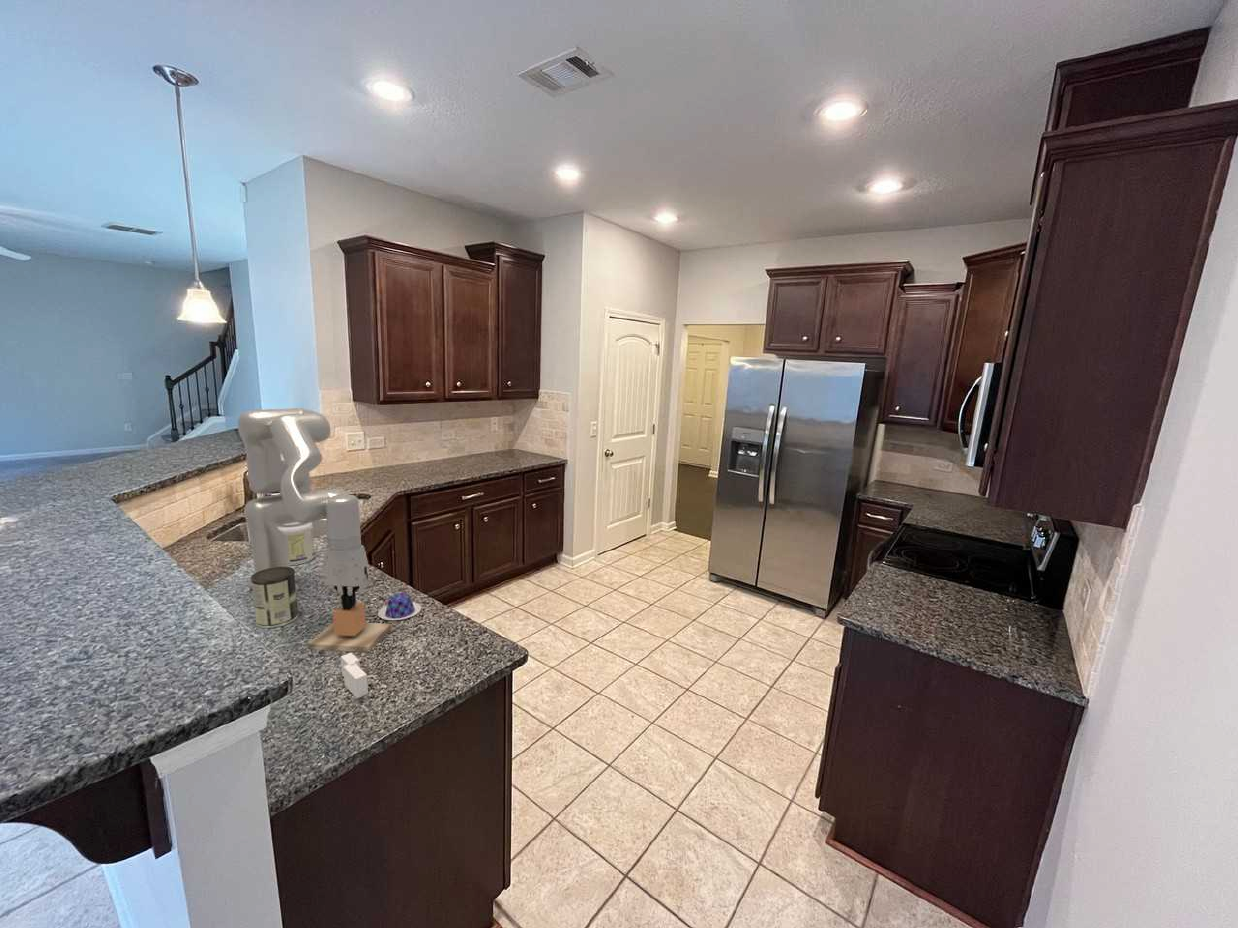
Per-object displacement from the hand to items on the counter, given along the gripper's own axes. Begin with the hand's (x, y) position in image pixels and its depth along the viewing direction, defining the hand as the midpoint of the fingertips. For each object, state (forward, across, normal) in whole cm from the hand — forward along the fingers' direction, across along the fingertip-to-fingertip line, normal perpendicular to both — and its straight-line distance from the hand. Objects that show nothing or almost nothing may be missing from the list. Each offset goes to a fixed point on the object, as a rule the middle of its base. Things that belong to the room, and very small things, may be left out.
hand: (349, 607), depth 135 cm
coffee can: (+9, -26, +8) cm, 29 cm away
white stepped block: (+10, +12, -18) cm, 24 cm away
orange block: (+7, 0, 0) cm, 7 cm away
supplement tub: (+9, -49, +51) cm, 71 cm away
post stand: (+9, 0, 0) cm, 9 cm away
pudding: (+10, +6, +16) cm, 20 cm away
